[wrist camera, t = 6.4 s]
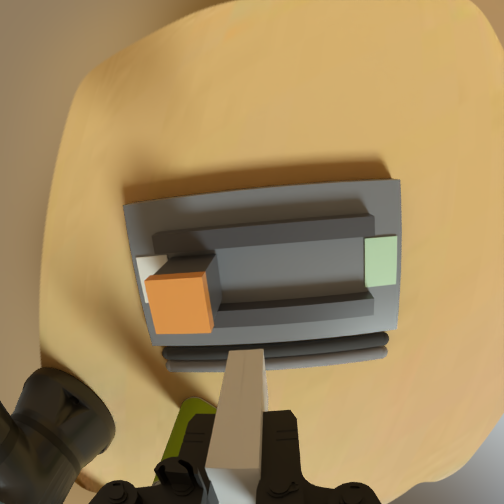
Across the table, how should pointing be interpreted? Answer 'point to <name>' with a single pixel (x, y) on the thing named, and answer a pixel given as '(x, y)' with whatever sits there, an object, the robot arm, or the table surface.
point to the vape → (184, 426)
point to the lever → (185, 295)
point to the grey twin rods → (282, 353)
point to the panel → (281, 258)
